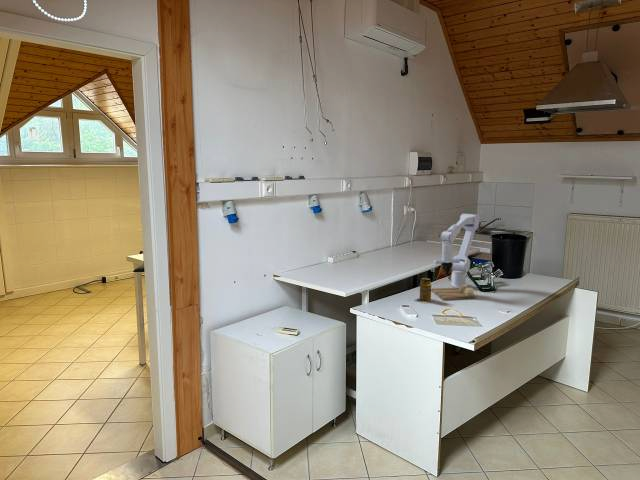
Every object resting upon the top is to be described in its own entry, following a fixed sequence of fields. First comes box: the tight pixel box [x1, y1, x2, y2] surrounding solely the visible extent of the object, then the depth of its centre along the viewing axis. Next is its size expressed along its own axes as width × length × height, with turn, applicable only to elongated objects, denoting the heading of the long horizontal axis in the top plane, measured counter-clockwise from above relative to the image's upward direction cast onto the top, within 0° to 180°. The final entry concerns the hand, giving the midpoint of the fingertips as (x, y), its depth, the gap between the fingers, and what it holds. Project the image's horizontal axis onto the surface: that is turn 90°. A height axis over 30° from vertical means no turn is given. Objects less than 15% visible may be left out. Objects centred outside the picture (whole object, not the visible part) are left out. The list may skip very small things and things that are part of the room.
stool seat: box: [431, 286, 476, 301], centre depth 268 cm, size 18×18×2 cm
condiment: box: [414, 277, 434, 304], centre depth 258 cm, size 7×8×12 cm
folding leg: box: [460, 284, 475, 296], centre depth 267 cm, size 12×4×3 cm, turn 8°
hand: (446, 275), depth 273 cm, fingers closed
